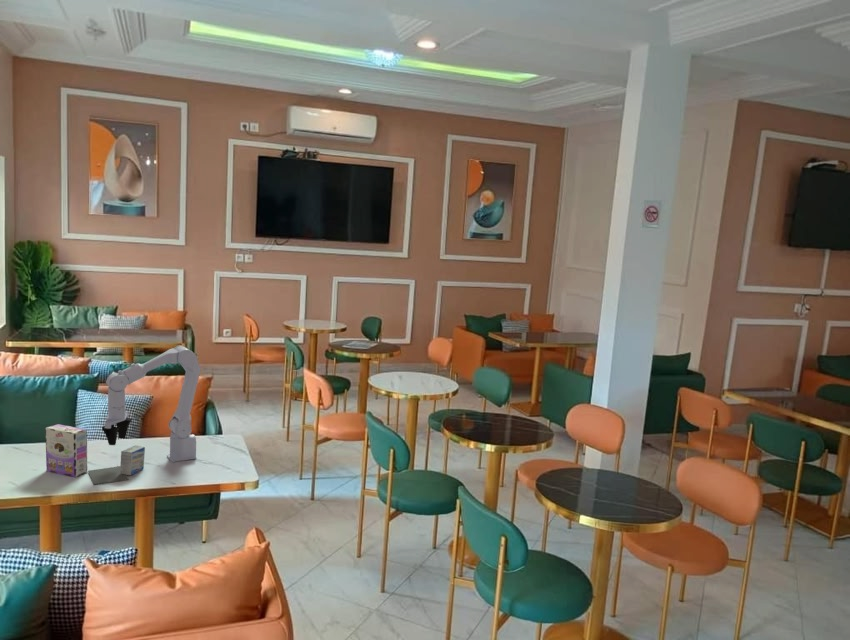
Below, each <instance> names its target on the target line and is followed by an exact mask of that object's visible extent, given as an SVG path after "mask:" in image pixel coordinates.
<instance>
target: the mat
mask: <svg viewBox="0 0 850 640" xmlns="http://www.w3.org/2000/svg"><path fill="white" fill-rule="evenodd" d="M88 472H89V473H88ZM87 473H88V475H89V477H90V479H91V482H92V483H93V485H94V486H97V485H104V484H112V483H117V482H118V483H119V482H124V481H129V478H128V475H125V474H120V465H119V466H113V467H111V466H110V467H105V468H104V467H103V468H97V469H89V470H87Z"/></svg>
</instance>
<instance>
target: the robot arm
mask: <svg viewBox="0 0 850 640" xmlns="http://www.w3.org/2000/svg"><path fill="white" fill-rule="evenodd" d="M166 364H172V365H177V364H180V365H181V367H182V368H183V369H184V371H185V374H184V378H183V382H182V387H181V390H180V394H179V399H178V403H177V407H176V410H175V411H174V413H173V415H172V418H171V419H170V420H169V421H168V428H169V430H170V431H171V433H170V435H169V453H167V454H166V457H167V458H168V459H169V460H170V462H171V463H174V462H175V463H177V462H181V461H189V460H196V459H197V438H196V435H195V434H193V433H192V424H191V423H192V416H191V411H192V407H193V404H194V399H195V395H196V391H197V387H198V382H199V378H200V374H201V366H200V363H199V361H198V356H197V355H196V353H195V352H193V351H192V350H191V349H188V348H187V347H186V346H184V345H176V346H175V347H174V348H169V349H168V350H166V351H165V352H162V353H161V354H159V355H157V356H155V357H153V358H152V359H149V360H148V361H146V362H144V363H143V364H142V363H139V362H138V363H131V364H130V366H128V367H127V368H124V369H122V370H121V369H120V370H118V371H117V372H113V373H110V374H109V375H108V376H107V378H106V380H105V383H106V385H107V386H108V387H107V388H108V389H107V391H108V393H107V409H108V410H107V411H108V412H107V414H108V415H107V416H106V417H105V420H106V421H105V422H104V425H103V426H102V427H101V430H102V432H103V433H104V435H105V437H106V439H107V443H108V446H116V445H117V444H116V443H117V437H118V438H119V439H126V437H127V433H128V429H129V426H130V424H131V422H132V418H129V416H130V415H129V414H130V412H129V411H126V391H125V390H126V387H127V386H128V385H130V384H133V383H135V382H137V381H140V380H141V379H142V378H143V379H144V377H146V375H147V373H148V372H150V371H152V370H154V369H157V368H159V367H162V366H163V365H166ZM115 425H116V426H115ZM191 433H192V434H191Z"/></svg>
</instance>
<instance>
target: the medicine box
mask: <svg viewBox="0 0 850 640" xmlns="http://www.w3.org/2000/svg"><path fill="white" fill-rule="evenodd" d="M145 447H146V446H145ZM145 447H144V446H141V445H132V446H130V447H128V448H126V449H123V450H121V451H120V465H119V466H120V474H125V475H126V476H133V475H135V474H137V473H138V472H141V471H143V470H144V469H145V468H144V467H145V454H146V453H145V451H146V448H145Z"/></svg>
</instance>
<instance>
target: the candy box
mask: <svg viewBox="0 0 850 640" xmlns="http://www.w3.org/2000/svg"><path fill="white" fill-rule="evenodd" d="M44 430H45V431H44V432H45V453H46V454H45V455H46V456H45V459H46V460H45V463H46V470H45V471H46V472H48V471H49V473H54V474H58V475H64V476H68V477H74V478H77V477H80V476H82V475H85V474H87V473H88V429H86V428H80V427H77V426H70V425H64V424H60V423H59V424H58V423H57V424H55V425H54V424H53V425H51V426H47V427H45V429H44ZM84 473H85V474H84Z"/></svg>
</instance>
